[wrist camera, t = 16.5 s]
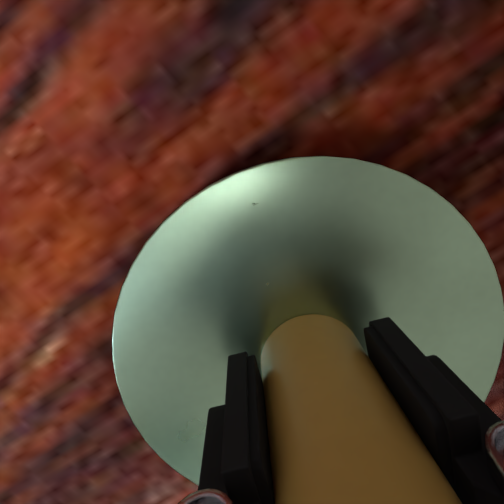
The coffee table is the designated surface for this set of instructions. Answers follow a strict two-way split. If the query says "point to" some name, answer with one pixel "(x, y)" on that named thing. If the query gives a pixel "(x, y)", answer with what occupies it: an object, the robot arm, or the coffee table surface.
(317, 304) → the lid
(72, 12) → the coffee table surface
